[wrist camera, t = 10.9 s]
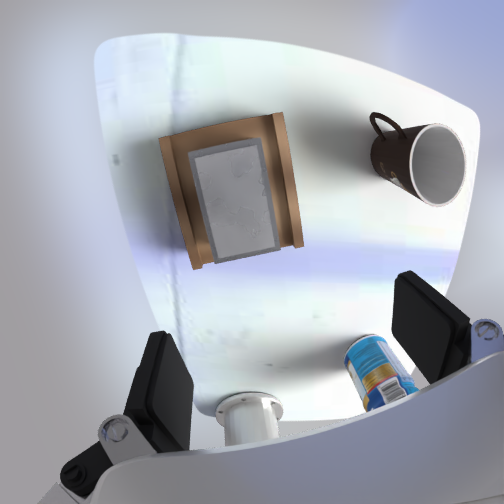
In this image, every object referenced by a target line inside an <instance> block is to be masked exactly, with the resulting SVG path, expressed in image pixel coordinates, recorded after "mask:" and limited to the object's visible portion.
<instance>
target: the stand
mask: <svg viewBox="0 0 504 504" xmlns="http://www.w3.org/2000/svg"><path fill="white" fill-rule="evenodd" d="M258 137H261V141H262V146H263V151H264V157H265V162H266V167H267V173H268V178H269V184H270V189H271V195H272V201H273V206H274V212H275V218H276V224H277V230H278V236H279V242H280V248H282V247H286V246H291V245H293V246H294V247H295V248H300V247H304V241H303V233H302V226H301V219H300V212H299V205H298V198H297V191H296V185H295V179H294V172H293V166H292V160H291V155H290V149H289V143H288V138H287V132H286V127H285V122H284V116H283V112H280V113H273V114H271V115H264V116H258V117H252V118H247V119H241V120H236V121H231V122H226V123H221V124H216V125H212V126H207V127H203V128H199V129H195V130H191V131H187V132H183V133H179V134H175V135H172V136H165V137H162V138H159V143H160V147H161V152H162V156H163V160H164V165H165V169H166V173H167V177H168V181H169V185H170V189H171V193H172V197H173V201H174V205H175V208H176V212H177V216H178V219H179V223H180V227H181V230H182V234H183V237H184V241H185V244H186V248H187V251H188V255H189V258H190V261H191V265H192V268H193V270H196V269H201V268H202V266H203V264H206V263H211V262H214V259H213V255H212V251H211V248H210V244H209V240H208V236H207V232H206V228H205V224H204V220H203V216H202V212H201V208H200V204H199V200H198V196H197V191H196V187H195V183H194V179H193V174H192V170H191V166H190V161H189V157H188V152H192V151H195V150H200V149H204V148H208V147H213V146H217V145H222V144H226V143H231V142H236V141H241V140H247V139H252V138H258Z"/></svg>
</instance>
